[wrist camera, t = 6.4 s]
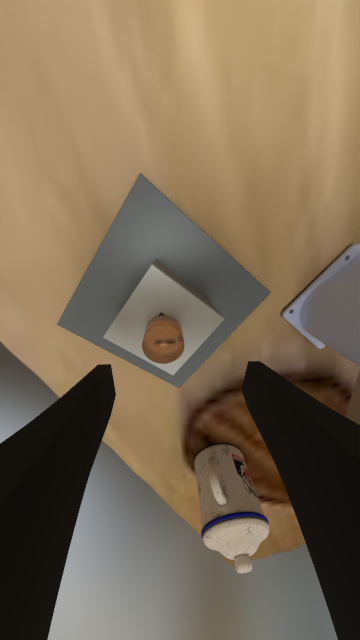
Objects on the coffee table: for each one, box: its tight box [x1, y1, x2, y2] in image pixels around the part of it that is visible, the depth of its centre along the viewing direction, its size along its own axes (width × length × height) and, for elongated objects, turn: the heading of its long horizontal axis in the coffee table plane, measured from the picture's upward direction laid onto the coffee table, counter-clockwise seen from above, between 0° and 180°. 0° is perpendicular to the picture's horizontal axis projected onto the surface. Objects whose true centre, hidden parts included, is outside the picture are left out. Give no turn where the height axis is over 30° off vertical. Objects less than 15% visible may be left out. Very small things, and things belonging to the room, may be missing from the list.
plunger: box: [142, 312, 185, 364], centre depth 14 cm, size 5×5×6 cm
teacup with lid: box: [194, 444, 269, 573], centre depth 25 cm, size 12×9×12 cm
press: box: [57, 173, 270, 388], centre depth 16 cm, size 16×16×5 cm
